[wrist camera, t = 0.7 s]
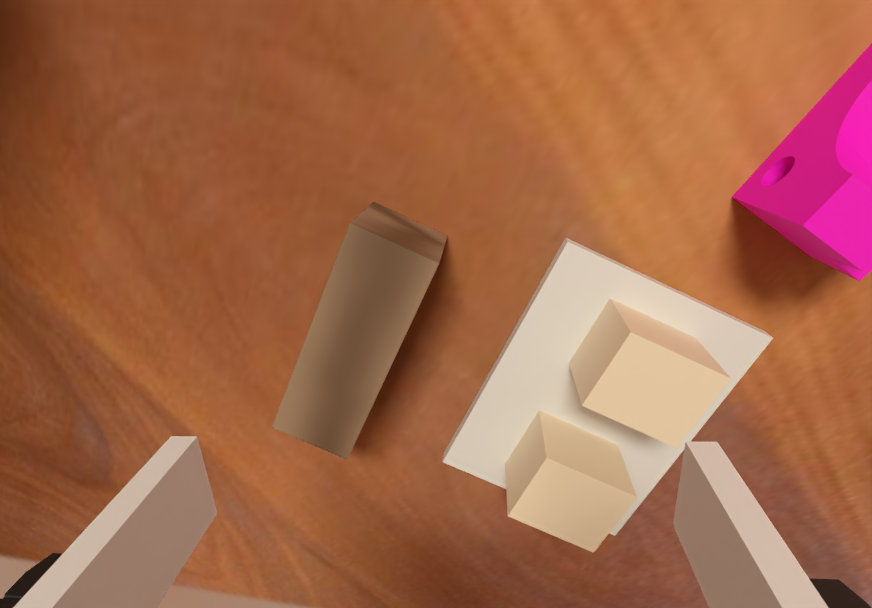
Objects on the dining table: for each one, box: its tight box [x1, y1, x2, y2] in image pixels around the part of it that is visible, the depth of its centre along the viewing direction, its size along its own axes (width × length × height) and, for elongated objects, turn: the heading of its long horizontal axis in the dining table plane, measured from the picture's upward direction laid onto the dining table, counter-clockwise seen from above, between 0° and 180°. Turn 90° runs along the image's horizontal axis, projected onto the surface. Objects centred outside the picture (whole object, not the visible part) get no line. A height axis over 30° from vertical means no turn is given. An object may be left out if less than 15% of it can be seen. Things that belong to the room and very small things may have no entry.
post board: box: [443, 237, 773, 553], centre depth 32 cm, size 14×18×6 cm
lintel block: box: [272, 202, 447, 459], centre depth 32 cm, size 5×14×6 cm, turn 156°
